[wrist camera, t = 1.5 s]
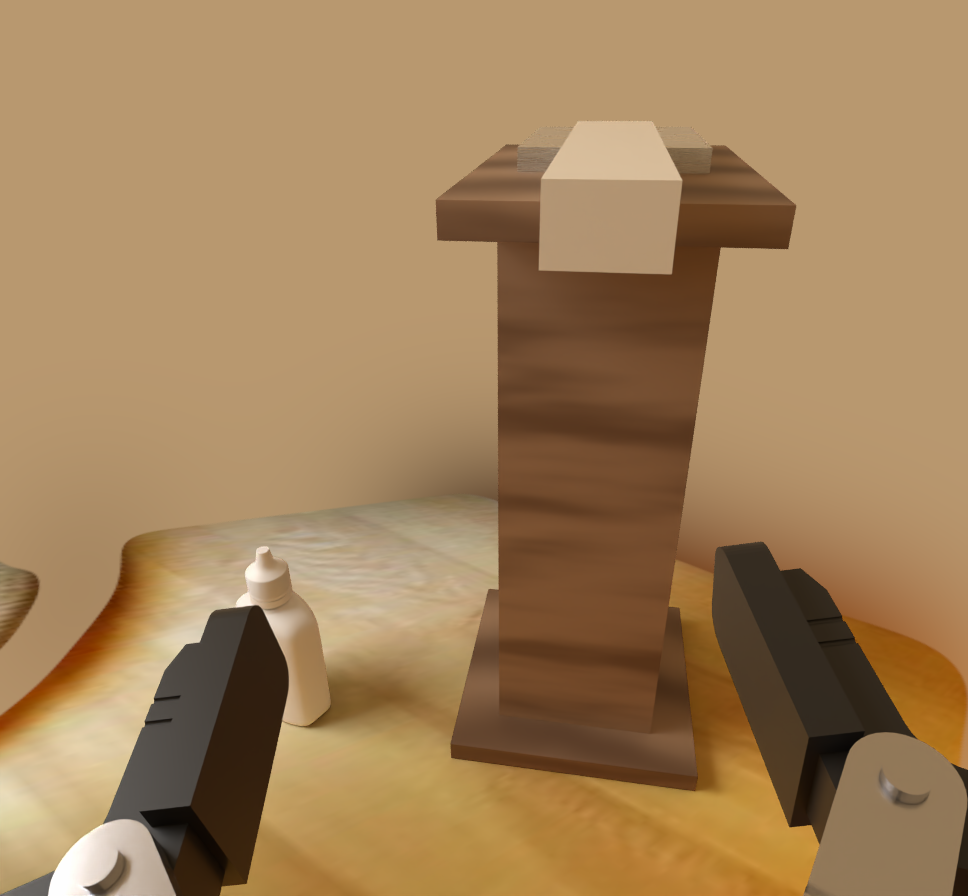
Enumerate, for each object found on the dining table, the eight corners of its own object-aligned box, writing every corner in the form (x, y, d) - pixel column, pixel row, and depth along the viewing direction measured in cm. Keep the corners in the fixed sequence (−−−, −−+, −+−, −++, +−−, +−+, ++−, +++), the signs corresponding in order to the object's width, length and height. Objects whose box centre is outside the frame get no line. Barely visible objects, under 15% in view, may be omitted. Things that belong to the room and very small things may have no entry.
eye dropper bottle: (316, 659, 49) (291, 515, 43) (336, 719, 45) (311, 567, 39) (251, 680, 48) (216, 533, 42) (265, 744, 43) (228, 590, 37)
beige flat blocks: (788, 278, 16) (806, 181, 15) (433, 267, 17) (429, 177, 16) (689, 147, 38) (693, 106, 37) (539, 146, 39) (540, 106, 38)
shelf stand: (698, 824, 38) (828, 205, 23) (444, 787, 40) (408, 199, 25) (675, 602, 54) (744, 145, 38) (492, 584, 56) (489, 144, 41)
